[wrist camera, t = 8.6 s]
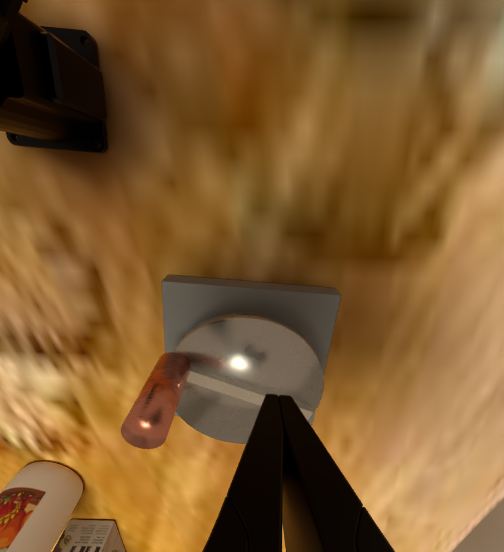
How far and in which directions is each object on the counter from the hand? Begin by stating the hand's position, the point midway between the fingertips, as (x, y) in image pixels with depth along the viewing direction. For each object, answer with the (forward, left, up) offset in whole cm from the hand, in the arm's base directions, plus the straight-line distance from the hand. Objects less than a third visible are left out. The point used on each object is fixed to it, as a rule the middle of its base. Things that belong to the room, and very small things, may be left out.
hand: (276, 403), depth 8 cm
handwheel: (-1, -8, -11) cm, 14 cm away
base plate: (-1, -8, -13) cm, 15 cm away
